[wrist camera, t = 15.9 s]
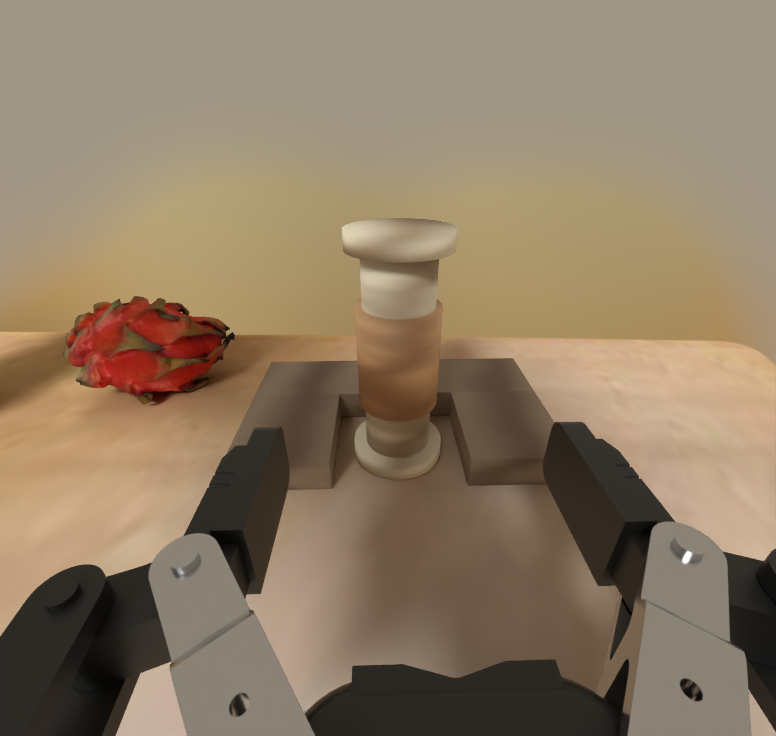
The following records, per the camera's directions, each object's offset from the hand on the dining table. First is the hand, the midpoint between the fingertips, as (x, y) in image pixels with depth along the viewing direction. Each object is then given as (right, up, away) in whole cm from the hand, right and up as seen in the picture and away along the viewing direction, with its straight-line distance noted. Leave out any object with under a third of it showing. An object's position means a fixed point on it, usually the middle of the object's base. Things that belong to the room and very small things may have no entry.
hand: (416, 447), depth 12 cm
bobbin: (0, -3, +14) cm, 15 cm away
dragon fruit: (-19, +1, +21) cm, 29 cm away
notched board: (0, -2, +17) cm, 17 cm away
